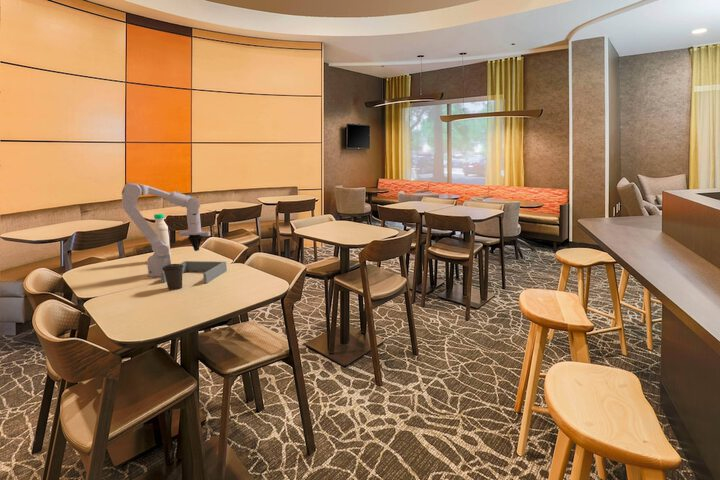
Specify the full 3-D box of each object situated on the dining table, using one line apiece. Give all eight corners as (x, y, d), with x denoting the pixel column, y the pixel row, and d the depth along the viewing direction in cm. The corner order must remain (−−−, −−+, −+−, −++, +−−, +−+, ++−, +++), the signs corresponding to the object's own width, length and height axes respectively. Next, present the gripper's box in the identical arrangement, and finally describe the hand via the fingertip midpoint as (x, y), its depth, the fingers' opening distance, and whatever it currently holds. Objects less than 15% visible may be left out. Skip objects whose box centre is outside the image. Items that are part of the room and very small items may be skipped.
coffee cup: (190, 286, 171) (187, 263, 169) (174, 291, 164) (172, 268, 162) (175, 284, 174) (173, 261, 172) (160, 289, 167) (157, 266, 165)
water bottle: (160, 259, 218) (154, 213, 213) (173, 258, 219) (168, 212, 213) (154, 262, 211) (149, 215, 206) (168, 262, 212) (163, 214, 207)
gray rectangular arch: (162, 282, 176) (161, 272, 176) (186, 269, 196) (185, 261, 195) (206, 283, 174) (205, 273, 173) (226, 270, 194) (226, 261, 193)
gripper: (212, 221, 196) (214, 248, 199) (184, 221, 197) (186, 248, 200) (205, 223, 189) (208, 252, 192) (176, 223, 190) (179, 251, 193)
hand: (196, 250), depth 195 cm, fingers closed
